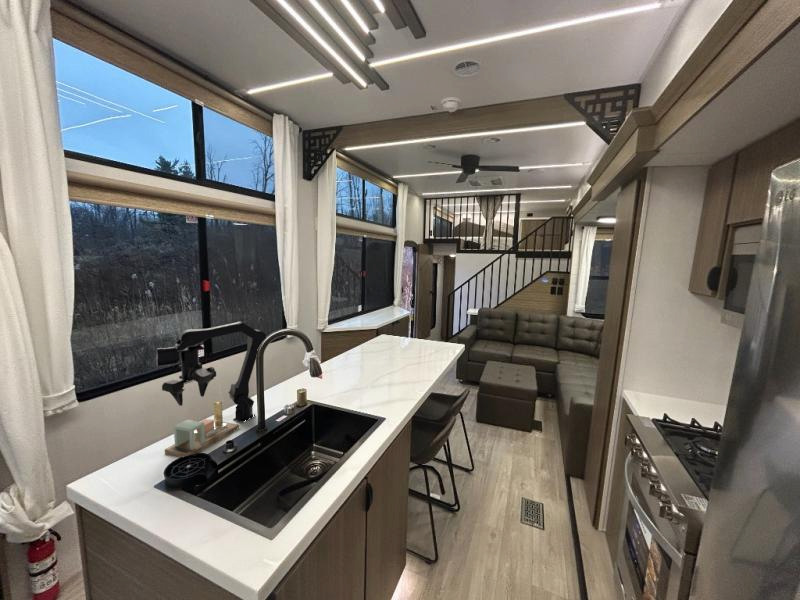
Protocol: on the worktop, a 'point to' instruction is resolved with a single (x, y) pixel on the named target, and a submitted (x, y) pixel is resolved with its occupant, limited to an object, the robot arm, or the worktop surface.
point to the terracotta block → (207, 425)
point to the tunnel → (188, 432)
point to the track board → (185, 447)
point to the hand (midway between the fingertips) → (191, 400)
